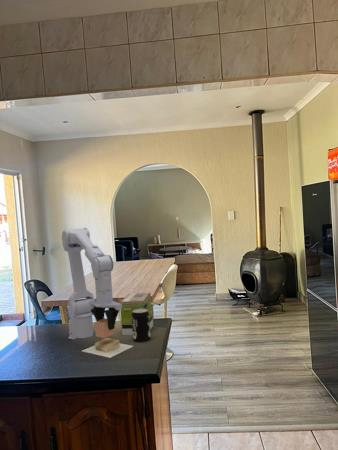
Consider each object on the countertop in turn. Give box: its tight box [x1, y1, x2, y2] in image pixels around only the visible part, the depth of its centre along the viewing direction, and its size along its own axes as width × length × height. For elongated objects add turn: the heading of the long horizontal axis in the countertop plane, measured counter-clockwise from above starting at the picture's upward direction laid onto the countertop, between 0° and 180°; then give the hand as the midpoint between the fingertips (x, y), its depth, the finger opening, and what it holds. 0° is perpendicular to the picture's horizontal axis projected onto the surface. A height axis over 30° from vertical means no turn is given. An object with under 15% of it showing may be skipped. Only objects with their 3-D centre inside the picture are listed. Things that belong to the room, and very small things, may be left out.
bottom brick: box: [94, 337, 120, 353], centre depth 130 cm, size 6×6×2 cm
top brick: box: [93, 317, 115, 339], centre depth 129 cm, size 4×4×5 cm
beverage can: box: [132, 308, 152, 343], centre depth 138 cm, size 7×7×12 cm
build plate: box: [81, 342, 134, 359], centre depth 130 cm, size 14×12×1 cm
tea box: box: [119, 292, 154, 336], centre depth 151 cm, size 15×10×15 cm
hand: (106, 328), depth 130 cm, fingers closed on top brick, 5 cm apart
